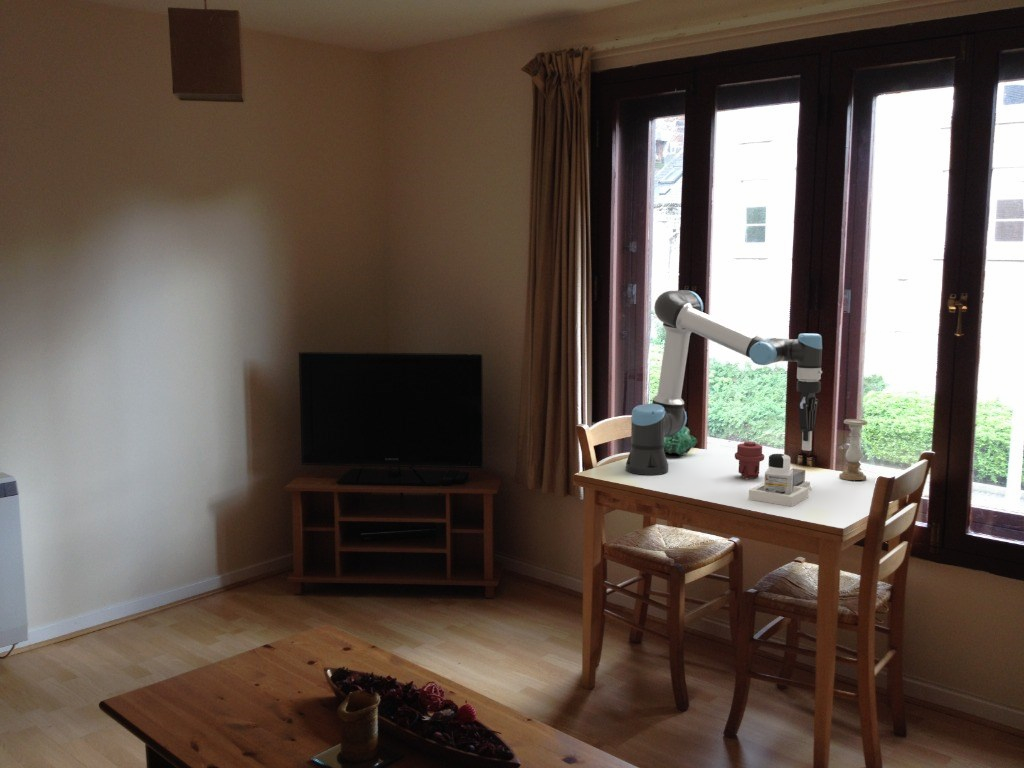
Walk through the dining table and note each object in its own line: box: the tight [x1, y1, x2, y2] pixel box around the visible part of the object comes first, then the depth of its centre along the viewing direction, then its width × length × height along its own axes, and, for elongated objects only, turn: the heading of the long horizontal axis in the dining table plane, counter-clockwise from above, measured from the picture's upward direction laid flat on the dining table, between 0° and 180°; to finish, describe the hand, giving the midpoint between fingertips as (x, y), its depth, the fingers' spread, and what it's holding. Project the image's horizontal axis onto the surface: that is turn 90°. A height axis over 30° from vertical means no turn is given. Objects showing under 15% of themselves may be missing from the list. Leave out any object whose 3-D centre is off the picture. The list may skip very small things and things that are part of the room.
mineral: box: [664, 426, 698, 457], centre depth 347 cm, size 18×16×10 cm
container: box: [763, 453, 793, 495], centre depth 280 cm, size 8×8×13 cm
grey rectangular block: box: [790, 467, 806, 490], centre depth 290 cm, size 4×10×5 cm, turn 142°
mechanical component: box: [734, 441, 765, 480], centre depth 308 cm, size 12×10×10 cm
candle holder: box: [839, 418, 868, 482], centre depth 306 cm, size 9×9×20 cm
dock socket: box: [748, 480, 812, 507], centre depth 285 cm, size 14×25×3 cm, turn 142°
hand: (806, 449), depth 297 cm, fingers closed
